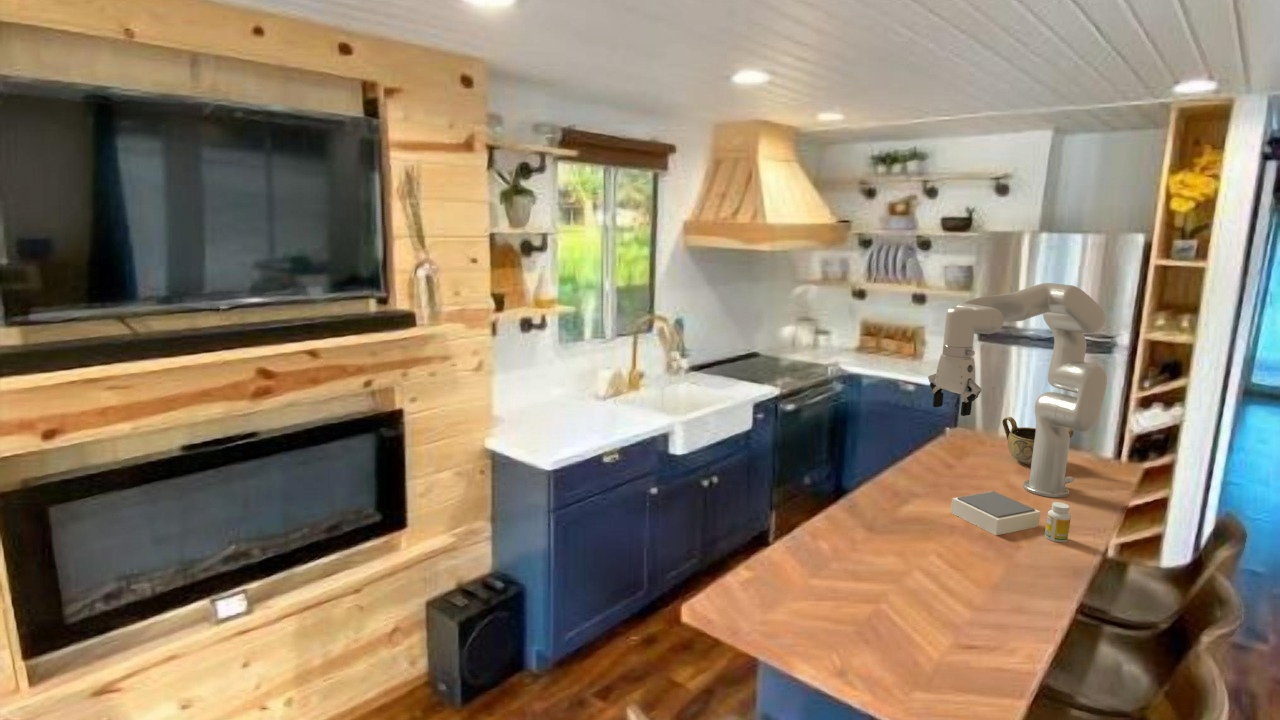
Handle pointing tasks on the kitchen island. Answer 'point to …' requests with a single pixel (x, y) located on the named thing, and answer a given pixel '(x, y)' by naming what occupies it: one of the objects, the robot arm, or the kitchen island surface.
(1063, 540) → the supplement bottle
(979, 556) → the kitchen island surface
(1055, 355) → the robot arm
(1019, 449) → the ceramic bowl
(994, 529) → the plate
